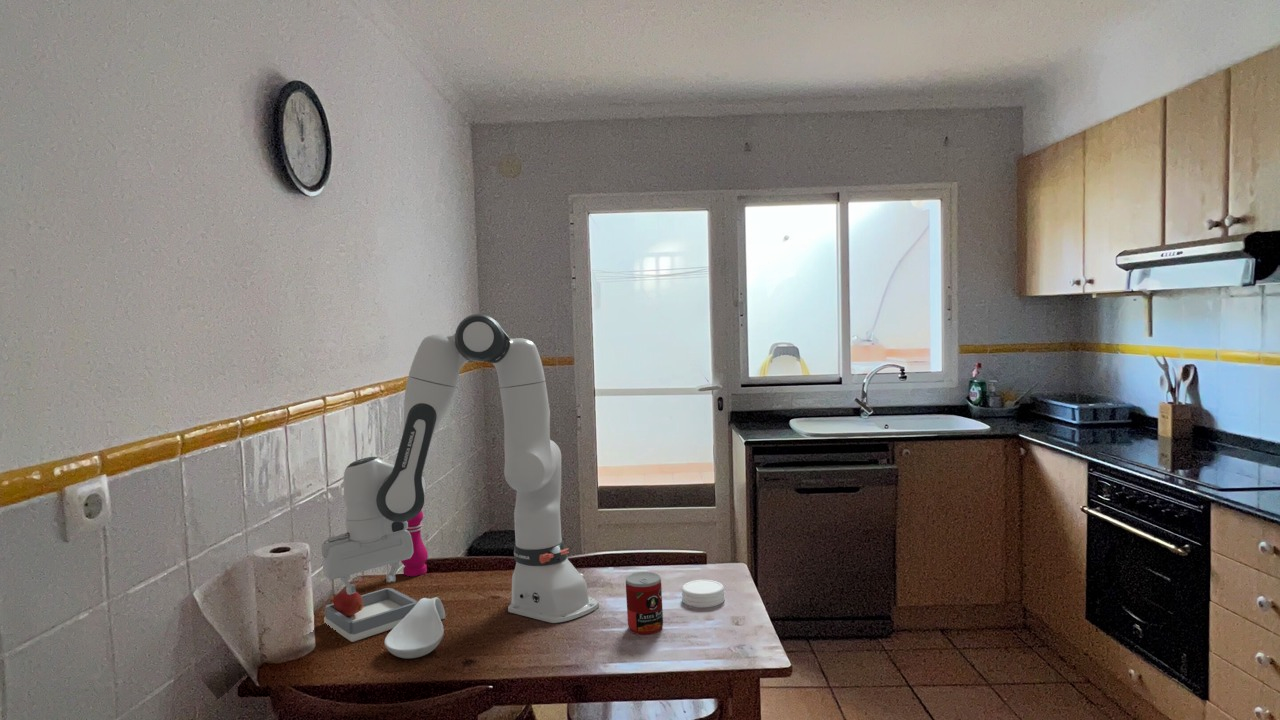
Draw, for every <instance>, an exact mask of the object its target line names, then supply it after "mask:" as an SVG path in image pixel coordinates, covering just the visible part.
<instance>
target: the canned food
mask: <svg viewBox="0 0 1280 720" xmlns="http://www.w3.org/2000/svg"><path fill="white" fill-rule="evenodd" d="M661 578H662V577H661V575H660V574H659V573H656V572H651V571H638V572H634V573H631V574H629V575H627V576H626V577H625V595H626V614H627V615H626V616H627V626H628V629H629V631H630V632H631V633H632V634H633V633H634V634H635V635H641V636H642V635H643V636H646V635H653V634H654V635H655V634H657V633H658V632H661V631H662V629H663V626H664V615H663V613H664V611H663V593H662V592H663V591H662V579H661Z"/></svg>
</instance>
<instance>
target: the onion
mask: <svg viewBox="0 0 1280 720" xmlns="http://www.w3.org/2000/svg"><path fill="white" fill-rule="evenodd" d="M329 600H330V602H333V603H332V604H334V608H335V610H336V611H338V612H340V613H341V614H343V615H344V616H347V617H348V616H352V615H354V614H356V613H357V612H359V611H361V610H362V609H363V601H362V597H361V594H360V593H359V592H358V591H356V593H353V594H350V595H349V594H347V592H346V590H342V591H340V592H339V593H338V594H336V595H333V596H331V597H330V599H329Z"/></svg>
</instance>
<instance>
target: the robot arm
mask: <svg viewBox="0 0 1280 720" xmlns="http://www.w3.org/2000/svg"><path fill="white" fill-rule="evenodd" d="M467 362H468V363H469V362H477V363H481V362H482V363H484V362H485V363H491V364H492V365H493V366H494V367H495V371H496V374H497V378H498V387H499V394H500V399H501V407H502V413H503V423H504V425H503V426H504V428H503V429H504V431H503V432H504V435H503V436H504V438H503V439H504V445H503V446H504V468H503V469H504V470H503V475H504V479H505V481H506V483H507V484H508V485H509V487H510V488H512V489H513V490H514V491H516V495H515V496H516V497H515V507H514V512H513V517H514V536H515V544H514V546H513V555H514V561H515V568H514V570H513V573H512V575H511V576H512V577H511V603H510V604H509V605H508V606H507V611H508V613H511V614H515V615H519V616H522V617H523V616H524V617H527V618H532V619H535V620H539V621H542V622H547V623H551V624H558V623H563V622H567V621H571V620H574V619H578V618H580V617H583V616H586V615H588V614H590V613H592V612H593V611H595V610H597V609H598V608H599V606H600V602H599V601H598V600H596V598H593V597H591V596H590V595H589V591H588V585H587V584H588V583H587V582H586V579H585V575H584V573H581V572H579V571H578V570H577V569H576V567H575V566H574V565H573V563H572V562H571V561H570V560H569V559H568V554H569V553H570V551H569V550H570V549H569V547H566V545H565V542H564V541H563V539H562V524H561V523H562V522H561V497H562V496H561V494H562V452H561V449H560V447H559V445H558V444H557V443H556V442H555V441H554V440H552V439H551V428H550V427H551V424H550V422H551V410H550V402H549V396H548V389H547V384H546V383H547V382H546V376H545V370H544V366H543V362H542V358H541V357H540V353H539V350H538V347H537V345H536V344H535V343H534V342H533V341H532V340H530V339H527V338H523V337H518V338H511V337H510V336H509V335H508V333H506V332H505V330H504V329H503V328H502V327H501V325H500V323H499V322H498V321H497V320H495V319H494V318H493V317H491V316H489V315H486V314H484V313H483V314H482V313H475V314H471V315H469V316H466V317H464V319H462V320H461V321H460V322H459V324H458V325H457V328H456V329H455V333H454V334H452V335H445V334H444V335H443V334H430V335H428V336H426V337H424V339H422V340H421V343H420V344H419V346H418V348H417V350H416V353H415V354H414V358H413V361H412V363H411V365H410V369H409V372H408V376H407V380H406V385H405V393H404V401H403V402H404V403H403V405H404V406H403V414H404V415H403V430H402V436H401V439H400V443H399V447H398V449H397V454H396V458H395V461H394V464H391V463H389V462H386V461H385V460H383V459H381V458H380V457H378V456H369V457H364V458H361V459H356V460H355V461H353V462H351V463H350V464H348V465H347V466H346V467H345V470H344V471H343V484H342V485H343V500H344V502H345V506H346V514H345V525H346V527H345V528H346V532H345V533H342V534H337V535H336V536H334V535H333V536H330V537H327V539H326V540H324V541H323V543H322V544H321V554H322V557H323V558H322V559H323V560H322V575H323V576H324V577H325V578H326V579H329V580H332V581H333V580H336V579H339V580H340V581H341V582H342V583H343V585H344V586H345V588H346V592H347V594H349V595H350V594H353V593H356V592H357V590H356V585H355V584H353V583H350V582H349V581H350V580H351V575H355V574H359V573H362V572H366V571H370V570H373V569H377V568H381V567H384V566H388V565H389V566H391V567H390V571H389V573H386V574H385V575H386V576H385V578H386V583H388V584H390V583H394V582H396V574H397V572H398V569H399V568H400V562H401V561H402V560H406V559H410V558H411V557H412V555H413V543H412V538H411V534H410V533H409V531H407V530H406V529H407V528H408V522H407V521H408V520H411V519H413V518H414V517H416V516H417V515H418V514H419V513H420V511H422V509H423V507H424V506H425V505H424V504H425V495H426V491H427V481H426V479H425V476H424V475H423V473H424V469H425V465H426V461H427V457H428V454H429V453H428V452H429V449H430V446H431V442H432V439H433V437H434V435H435V432H436V430H437V428H438V427H439V425H440V424H441V422H442V421H443V418H444V417H445V415H446V414H447V411H448V410H449V407H450V405H451V403H452V400H453V397H454V394H455V391H456V386H457V384H458V379H459V375H460V373H461V370H462V368H463V366H464V365H465V364H467Z"/></svg>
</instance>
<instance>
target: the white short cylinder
mask: <svg viewBox="0 0 1280 720" xmlns="http://www.w3.org/2000/svg"><path fill="white" fill-rule="evenodd" d="M681 596H682V597H681V600H682V603H684V605H686V606H689V607H692V608H698V609H699V608H700V609H701V608H702V609H703V608H705V609H707V608H714V607H716V606H719V605H721V604H723V603H724V602H725V598H726V597H725V587H724V585H723V584H722V583H721V582H719V581H716V580H712V579H696V580H690V581H688V582H686V583H684V584H683V585H682V586H681Z"/></svg>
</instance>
